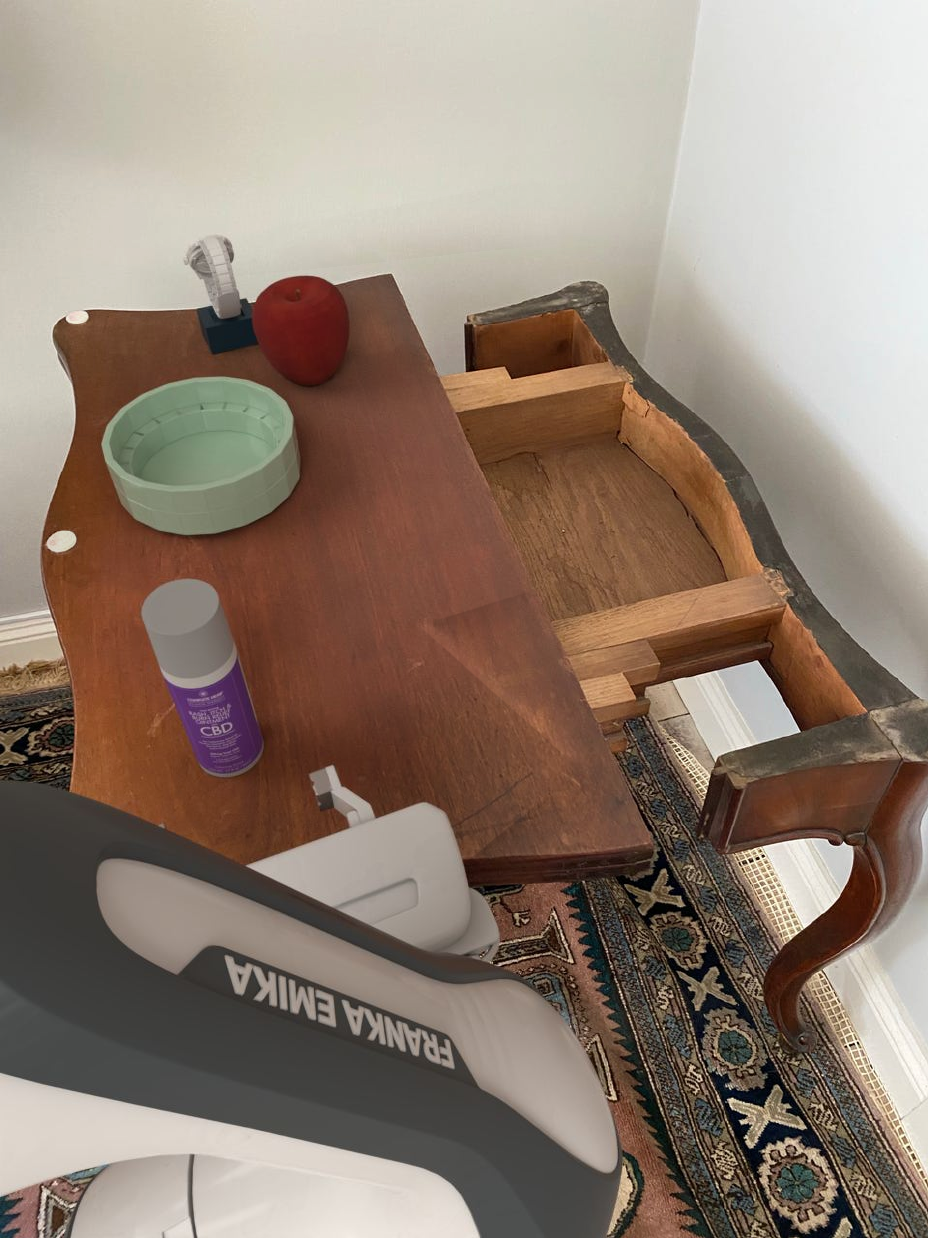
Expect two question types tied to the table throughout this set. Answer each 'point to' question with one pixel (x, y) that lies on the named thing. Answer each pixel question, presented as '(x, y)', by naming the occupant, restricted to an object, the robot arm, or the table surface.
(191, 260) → the watch
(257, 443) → the bowl
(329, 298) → the apple
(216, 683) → the container
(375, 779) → the table surface
